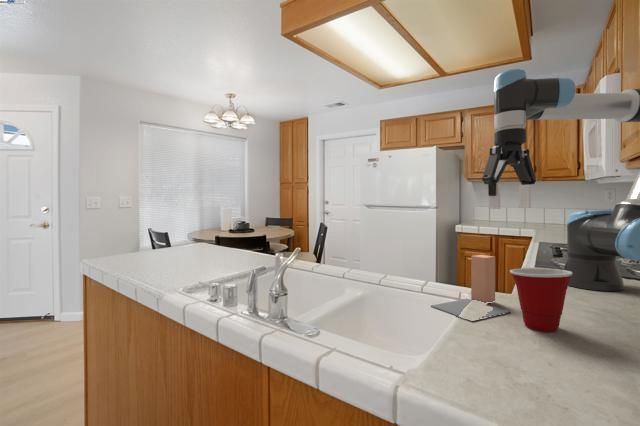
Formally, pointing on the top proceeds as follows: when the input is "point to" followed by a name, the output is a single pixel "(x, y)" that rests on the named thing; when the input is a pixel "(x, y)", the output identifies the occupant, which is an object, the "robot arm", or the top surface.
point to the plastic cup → (541, 296)
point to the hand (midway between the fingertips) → (510, 208)
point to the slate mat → (459, 305)
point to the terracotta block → (483, 278)
